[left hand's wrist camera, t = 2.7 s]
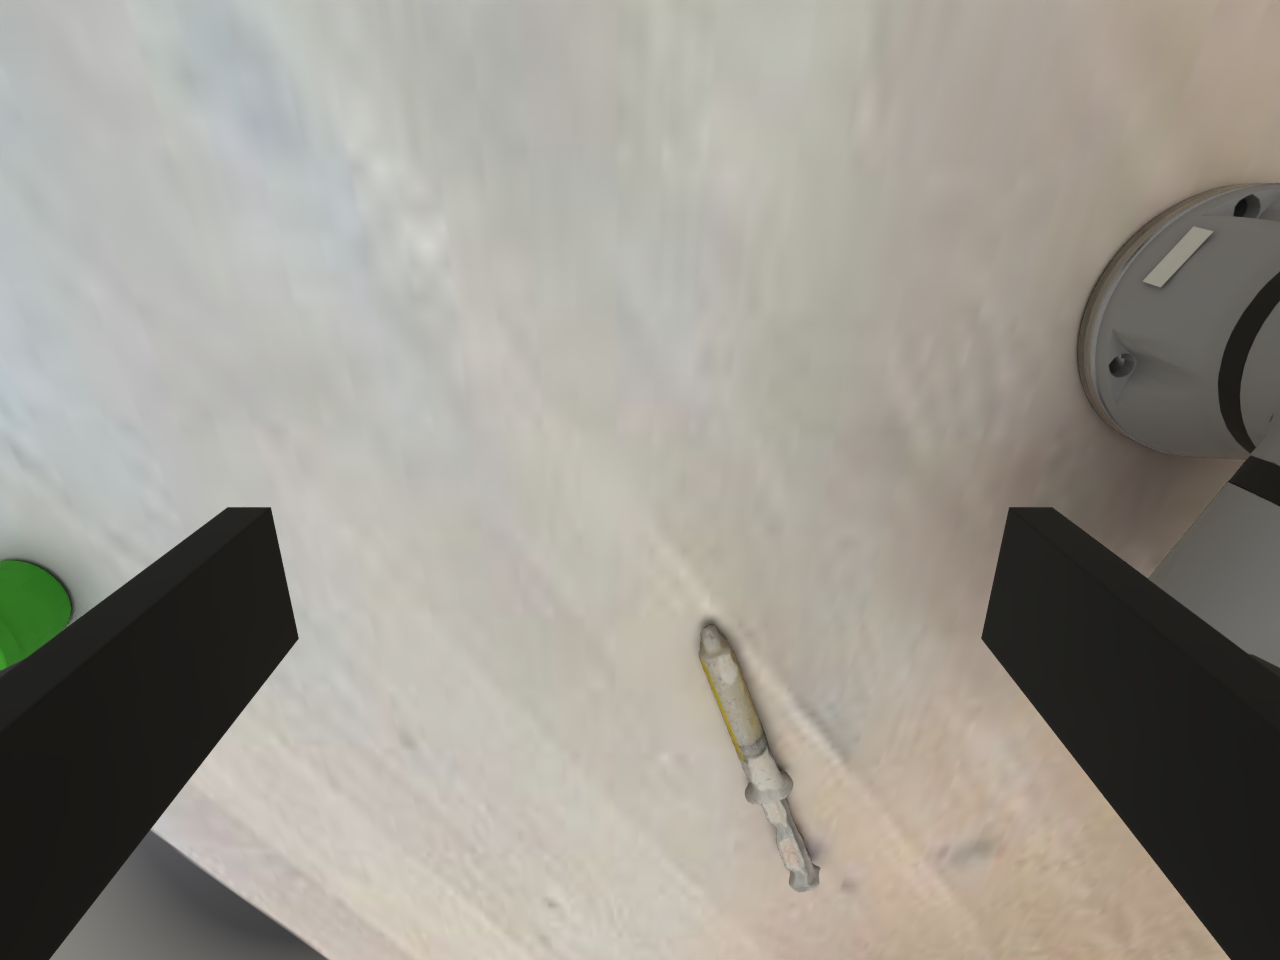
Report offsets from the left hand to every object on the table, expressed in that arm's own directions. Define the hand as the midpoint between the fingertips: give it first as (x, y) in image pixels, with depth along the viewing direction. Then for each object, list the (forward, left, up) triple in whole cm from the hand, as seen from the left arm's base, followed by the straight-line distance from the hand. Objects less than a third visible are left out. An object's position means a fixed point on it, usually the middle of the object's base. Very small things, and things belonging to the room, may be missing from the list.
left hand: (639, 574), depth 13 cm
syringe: (-24, +24, -31) cm, 46 cm away
